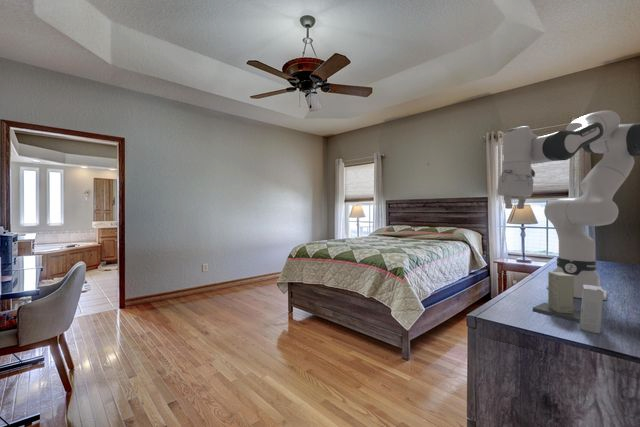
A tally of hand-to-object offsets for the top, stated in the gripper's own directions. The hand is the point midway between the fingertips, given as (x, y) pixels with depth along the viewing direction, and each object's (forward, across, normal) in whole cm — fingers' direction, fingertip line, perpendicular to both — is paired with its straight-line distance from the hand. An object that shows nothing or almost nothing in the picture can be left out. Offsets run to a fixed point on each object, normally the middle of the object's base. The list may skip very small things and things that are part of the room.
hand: (514, 208), depth 109 cm
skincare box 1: (+33, -1, -15) cm, 37 cm away
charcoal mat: (+34, -1, -15) cm, 37 cm away
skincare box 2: (+34, -9, -24) cm, 43 cm away
